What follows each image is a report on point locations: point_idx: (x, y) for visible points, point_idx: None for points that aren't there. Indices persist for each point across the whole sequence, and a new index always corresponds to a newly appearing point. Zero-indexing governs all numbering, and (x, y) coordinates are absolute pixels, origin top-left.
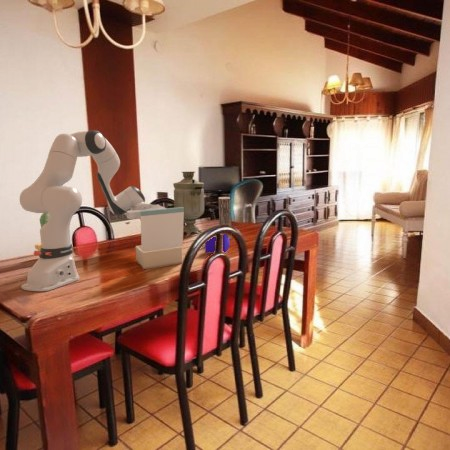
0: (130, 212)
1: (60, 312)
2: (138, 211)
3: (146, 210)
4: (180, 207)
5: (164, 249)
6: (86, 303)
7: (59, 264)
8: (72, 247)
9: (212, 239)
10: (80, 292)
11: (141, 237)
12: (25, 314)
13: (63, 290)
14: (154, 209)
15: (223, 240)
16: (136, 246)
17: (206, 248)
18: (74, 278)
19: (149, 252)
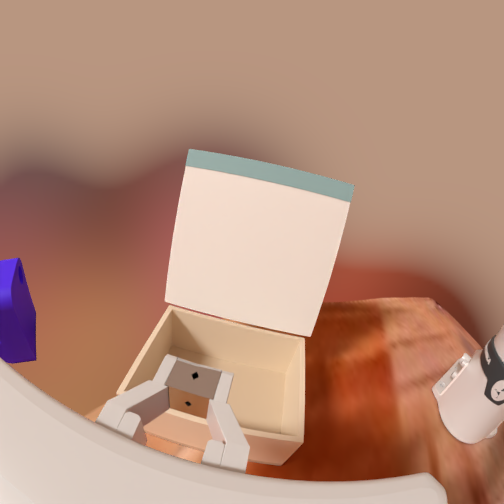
0: (417, 475)
1: (414, 297)
2: (315, 486)
3: (333, 179)
4: (201, 151)
5: (228, 323)
6: (393, 300)
7: (476, 353)
8: (490, 359)
9: (21, 303)
10: (411, 333)
11: (326, 286)
12: (445, 311)
13: (438, 353)
14: (41, 419)
15: (25, 281)
16: (302, 429)
17: (31, 346)
18: (440, 386)
19: (282, 335)
